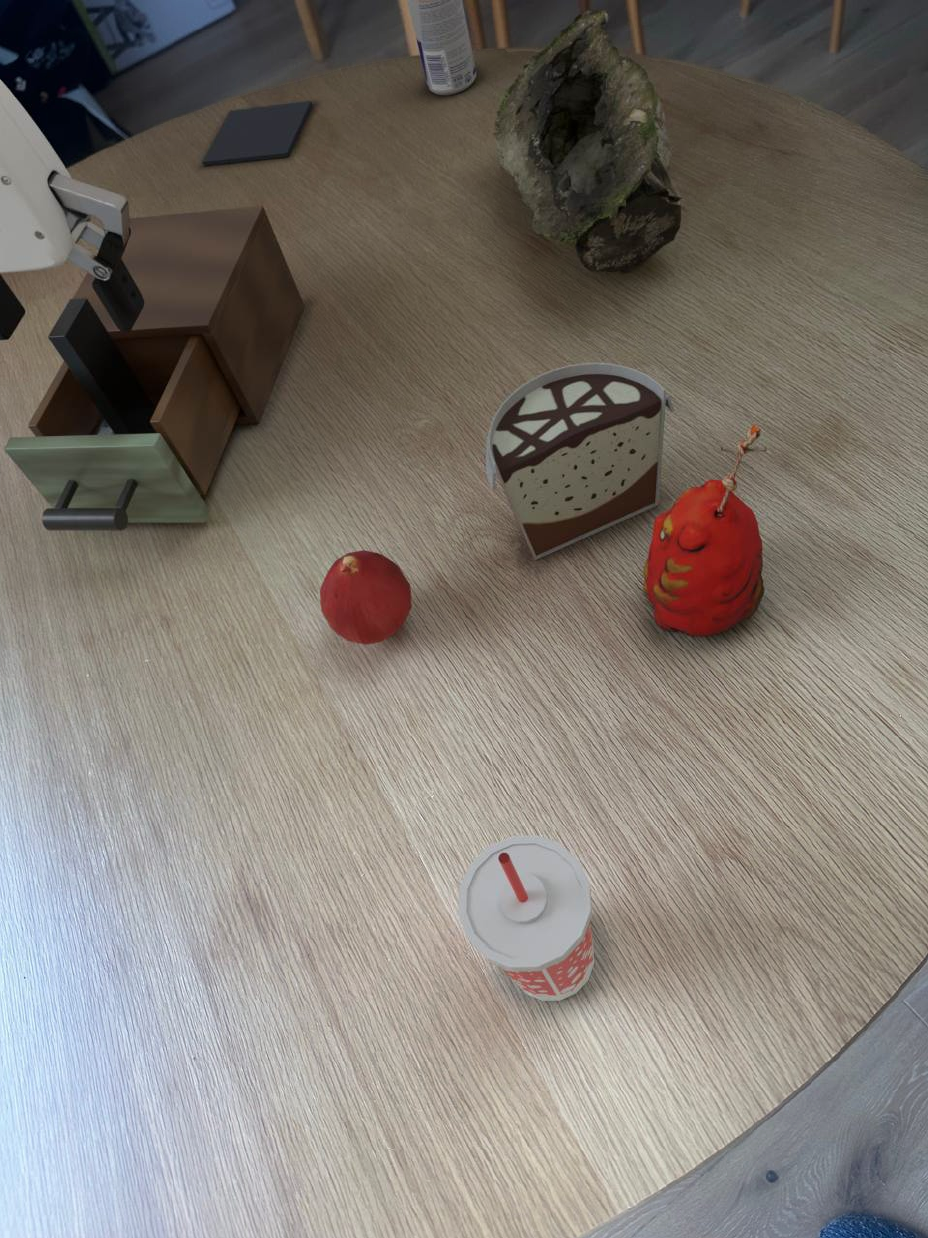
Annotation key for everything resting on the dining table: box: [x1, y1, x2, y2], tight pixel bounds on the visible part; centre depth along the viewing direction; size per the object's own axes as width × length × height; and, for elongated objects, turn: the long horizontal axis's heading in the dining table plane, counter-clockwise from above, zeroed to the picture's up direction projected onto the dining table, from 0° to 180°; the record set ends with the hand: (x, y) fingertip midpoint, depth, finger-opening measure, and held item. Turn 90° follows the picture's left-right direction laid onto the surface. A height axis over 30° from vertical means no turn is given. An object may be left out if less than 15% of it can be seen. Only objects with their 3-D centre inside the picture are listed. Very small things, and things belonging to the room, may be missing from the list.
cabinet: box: [71, 205, 305, 425], centre depth 82 cm, size 15×14×10 cm
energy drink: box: [406, 0, 477, 96], centre depth 101 cm, size 5×5×12 cm
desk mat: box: [202, 100, 313, 167], centre depth 108 cm, size 10×10×1 cm
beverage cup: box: [457, 834, 595, 1002], centre depth 46 cm, size 6×6×14 cm
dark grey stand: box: [47, 298, 157, 435], centre depth 73 cm, size 9×6×13 cm, turn 80°
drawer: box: [3, 334, 241, 532], centre depth 75 cm, size 18×12×8 cm
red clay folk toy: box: [642, 424, 768, 638], centre depth 56 cm, size 8×7×15 cm
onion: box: [319, 550, 412, 645], centre depth 63 cm, size 6×6×8 cm
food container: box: [485, 362, 675, 561], centre depth 65 cm, size 12×6×10 cm, turn 111°
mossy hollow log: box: [492, 8, 683, 275], centre depth 82 cm, size 28×13×15 cm
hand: (72, 322), depth 68 cm, fingers open, 9 cm apart
